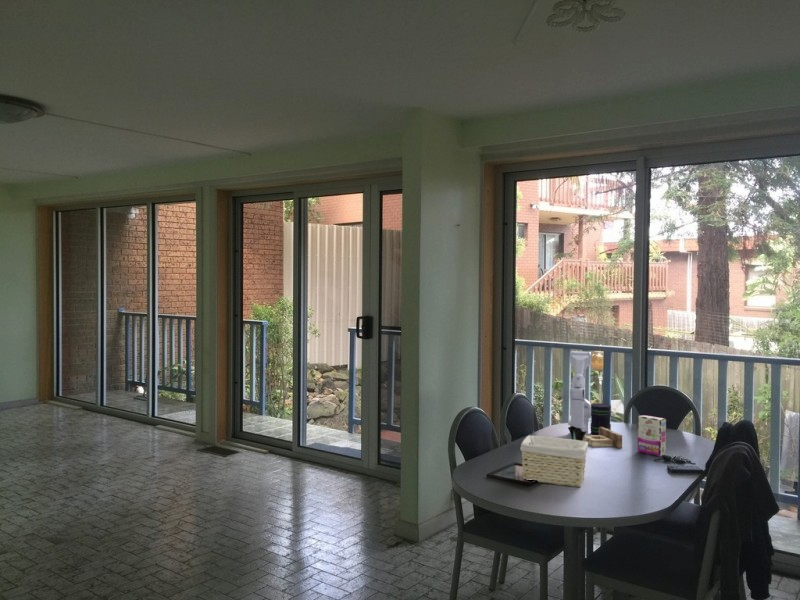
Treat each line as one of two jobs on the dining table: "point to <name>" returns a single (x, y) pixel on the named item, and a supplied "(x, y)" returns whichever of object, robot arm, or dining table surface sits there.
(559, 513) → the dining table surface
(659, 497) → the dining table surface
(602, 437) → the light wooden square frame
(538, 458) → the storage basket
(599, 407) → the storage jar
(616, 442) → the backstop wall
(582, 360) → the robot arm
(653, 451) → the candy bar box
